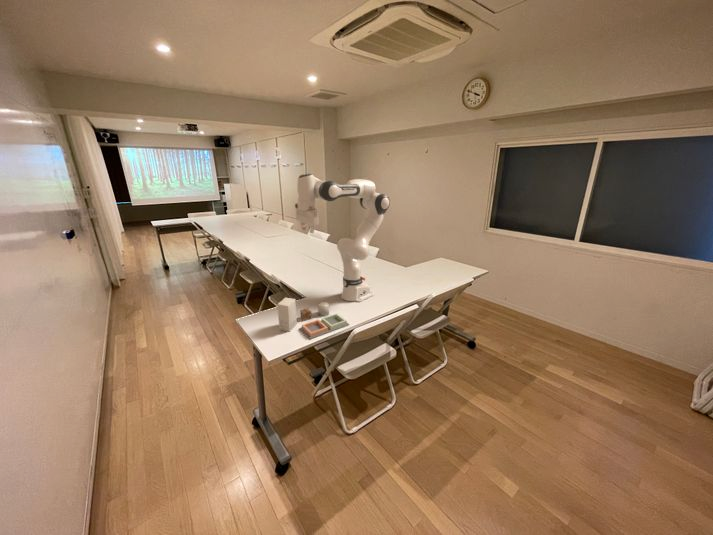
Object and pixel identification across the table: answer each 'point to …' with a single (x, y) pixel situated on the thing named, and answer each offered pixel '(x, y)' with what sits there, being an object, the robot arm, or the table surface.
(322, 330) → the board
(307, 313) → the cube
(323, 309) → the grey rounded cylinder
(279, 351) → the table surface
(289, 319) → the skincare box
